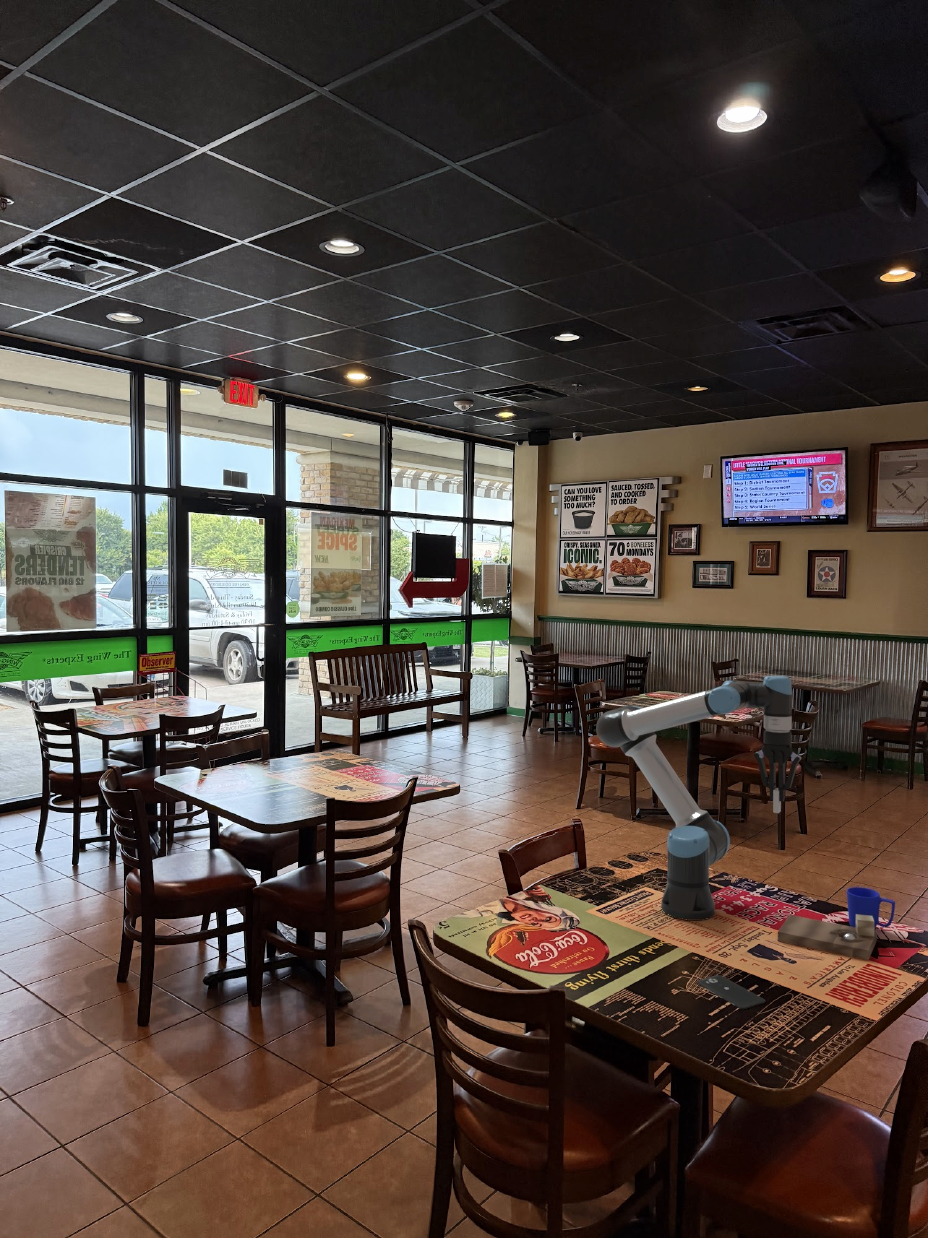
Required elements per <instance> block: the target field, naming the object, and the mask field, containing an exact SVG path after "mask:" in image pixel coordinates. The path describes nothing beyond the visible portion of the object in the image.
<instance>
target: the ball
mask: <svg viewBox="0 0 928 1238" xmlns="http://www.w3.org/2000/svg"><path fill="white" fill-rule="evenodd" d="M843 938H844V939H856V937H855V936H854V935H853V934H851V933H847V934H845V935H844V937H843Z"/></svg>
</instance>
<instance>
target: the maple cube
mask: <svg viewBox="0 0 928 1238" xmlns="http://www.w3.org/2000/svg"><path fill="white" fill-rule="evenodd" d="M874 931H875V930H874V919H873V917H872V916H868V915H858V914H856V932H857V935H864V936H873V937H874Z"/></svg>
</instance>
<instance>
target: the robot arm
mask: <svg viewBox="0 0 928 1238" xmlns="http://www.w3.org/2000/svg"><path fill="white" fill-rule="evenodd" d="M792 686H793V685H792V679H791V678H790V677H788V676H785V675H766V676H765V677H764V678H763V681H762V682H760V681H759V682H758V681H757V682H755V681H745V680H744V681H742V680H738V679H737V680H726V681H724V682H723V683H722V685H721V686H717V687H715V688H711V689H709V690H704V691H700V692H696V693H693V694H689V695H686V696H682V697H678V698H674V699H672V700H671V699H670V700H668V701H664V702H661V703H660V702H659V703H657V704H653V705H649V706H646V707H643V708H642V707H640V706H638V705H624V706H621V707H619V708H616V709H612V710H611V709H610V710H608V711H606V712H604V713H602V714H601V715H600V717H599V718H598V720H597V722H596V726H595V727H596V728H595V729H596V735H597V737H598V739H599V740H600V741H601V743H603V744H604V745H605V746H607V747H610V748H620V749H621V751H622V752H623V754H624V755H625V756H627V757H631V758H632V759H633V761H634V762H635V764H636V765H637V767H638V768H639V769H640V771H641V772H642V774H643V775H644V777H645V778H646V780H647V781H648V783H649V784H650V787H651V788H652V789H653V791H654V792H655V794H656V795H657V797H658V798H659V801H661V803H662V804H663V806H664V808H665V809H666V812H668V814H669V815H670V816H671V818H672V820H673V822H674V823H675V827H674V828H672V829H671V830H670V831H669V833H668V835H667V842H666V850H667V851H666V852H667V860H666V861H667V863H666V866H667V868H666V869H667V873H666V874H667V883H666V886H665V889H664V892H663V895H662V898H661V903H660V906H661V907H660V908H662V909H661V911H662V910H663V911H664V912H665V913H666V914H665V913H664V912H663V911H662V912H663V913H664V914H665V915H667V914H669V915H671V916H673V917H672V918H675V917H676V918H675V919H678V918H683V919H682V920H684V919H687V920H686V921H704V920H707V919H706V918H708V919H710V917H711V918H712V917H714V916H715V915H716V904H715V901H714V898H713V895H712V891H711V888H710V885H709V884H710V879H709V878H710V871H709V870H710V867H711V866H712V865H713V864H715V863H716V862H719V861H720V860H721V859H723V857H724V856H725V855H726V854H727V853H728V851H729V849H730V844H731V838H730V834H729V831H728V829H727V828H726V827H725V825H723V824H722V823H721V822H720V821H718V820H715V819H713V817H712V816H711V815H710V813H709V812H708V811H707V810H705V809H701V808H700V807H699V806H698V804H697V802H696V801H695V799H694V798H693V797H692V795H691V793H689V792H690V791H688V789H687V788H686V786H685V785H684V783H683V781H682V780H681V779H680V777H679V776H678V775H677V772H676V771H675V770H674V768H673V766H672V765H671V764H670V763H669V761H668V759H667V758H666V756H665V755H664V753H663V752H662V750H661V749H660V747H659V746H658V744H657V742H656V741H657V734H656V733H655V732H658V731H662V730H665V729H670V728H674V727H678V726H682V725H685V724H689V723H693V722H696V721H700V720H705V719H709V718H713V717H716V716H721V715H727V714H731V713H733V712H735V711H739V710H741V709H743V708H744V709H745V708H750V709H751V708H753V709H763V728H764V729H765V730H764V731H763V746H761V750H759V751H756V752H755V753H753V757H754V758H755V760H756V762H757V766H758V770H759V773H760V778H761V782H762V785H763V787H766V788H768V789H769V801H772V802H773V803H772V809H773V813H774V814H780V813H781V812H782V810H781V809H782V802H784V801H785V799H786V798H785V797H786V795H785V792H786V791H785V790H789V789H791V788H792V785H793V782H794V777H795V774H796V771H797V769H798V768H797V767H798V764H799V762H800V761H801V760H802V756H801V755H799V754H796V753H795V752H794V750H793V746H792V744H793V743H792V740H793V739H792V735H793V734H792V731H791V730H792V726H793V724H792V719H793V718H792V717H793V716H792V709H793V706H792V702H793V690H792ZM764 756H765V757H766V759H767V761H768V766H769V774H768V772H767V768H766V763H765V759H764ZM789 758H790V759H791V765H790V767H789V771H788V775H787V779H786V762H787V761H788V760H789ZM777 763H778V765H777ZM777 766H778V788H777V785H776V784H777V782H776V780H777V779H776V778H777V777H776V776H777ZM714 914H715V915H714ZM669 915H668V916H669ZM671 916H670V917H671ZM703 919H704V920H703Z"/></svg>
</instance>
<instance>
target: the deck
mask: <svg viewBox="0 0 928 1238" xmlns="http://www.w3.org/2000/svg"><path fill="white" fill-rule="evenodd" d="M847 933H851V934H853V935H854V936H855V937H856V939H844V938H843V937H844V935H845V934H847ZM877 933H878V932H877V931H875V930H874V937H873V936H864V935H857V932H856V928H855V927H851V926H850V925H844V924H840V923H835V922H834V923H833V922H829V921H825V920H819V919H814V918H810V917H809V918H808V917H803V916H798V915H793V914H789V915H788V916H787V918H786V919H785V920H784V922H783V923H782V925H781V926H780V928H779V929H778V931H777V942H781V943H785V944H789V945H795V946H800V947H804V948H810V949H813V950H818V951H822V952H829V953H832V954H836V955H837V954H838V955H841V956H846V957H851V958H855V959H856V958H857V959H860V960H865V961H869V960H870V959H871V955H872V953H873V951H874V948H875V945H876V943H877V938H878V936H877Z"/></svg>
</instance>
